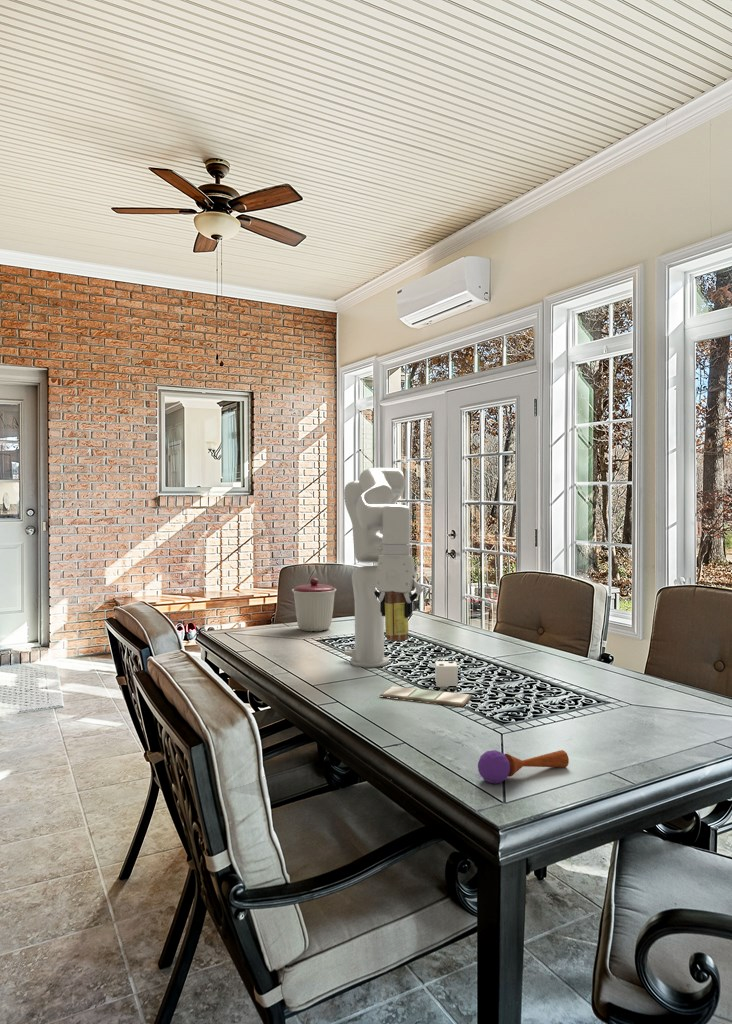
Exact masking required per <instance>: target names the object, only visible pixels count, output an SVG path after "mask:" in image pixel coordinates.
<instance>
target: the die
mask: <svg viewBox="0 0 732 1024" xmlns="http://www.w3.org/2000/svg"><path fill="white" fill-rule="evenodd" d="M434 664H435V666H434V668H435V669H434V671H435V673H434V674H435V675H434V676H435V677H434V681H435V682H436V683H435V687H436V686H443V687H442V688H445V687H444V686H447V687H446V688H449V687H448V686H456V687H455V688H458V687H459V685H458V684H459V681H458V680H459V678H458V677H459V676H458V674H459V669H458V668H459V667H458V663H457V661H456V660H455V661H451V660H450V661H449V660H448V661H447V660H445V661H443V660H438V661H437V660H436V661H434ZM457 686H458V687H457Z"/></svg>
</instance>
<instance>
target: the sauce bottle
mask: <svg viewBox="0 0 732 1024" xmlns="http://www.w3.org/2000/svg"><path fill="white" fill-rule="evenodd" d="M405 603H406V599H405V596H404V593H397V592H394V591H390V592H385V616H384V629H385V636H386V640H387V641H391V642H405V641H407V640H408V639H409V617H408V618H405Z"/></svg>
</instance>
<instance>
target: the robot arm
mask: <svg viewBox="0 0 732 1024" xmlns="http://www.w3.org/2000/svg"><path fill="white" fill-rule="evenodd" d="M405 488H406V478H405V475H404V473H403V471H402V470H400V469H399V468H397V467H373V468H372V467H370V468H367V469H364V470H363V471H362V472H361V473H360V474H359V477H358V480H353V481H350V482H348V483H347V484H346V485H345V487H344V490H343V495H344V496H343V498H344V504H345V508H346V510H347V513H348V516H349V519H350V521H351V527H352V538H353V539H352V541H353V542H352V543H353V549H354V550H353V551H354V557H355V559H356V560H357V562H359V563H362V564H363V563H364V564H377V565H364V566H363V565H362V566H360V567H359V566H358V567H357V568H356V569H354V570H353V572H352V574H351V586H352V589H353V598H354V648H349V647H345V648H344V651H343V653H344V655H345V656H351V658H350V659H349V661H350V664H351V665H352V666H355V667H361V668H379V667H384V666H386V665H387V666H388V664H390V659H389V658H388V657H387V656H385V592H390V591H394V592H397V593H404V596H405V599H406V603H405V618H408V619H409V618H411V617H412V615H413V602H414V601H415V600H416V599H417V598H418V597H419V596H420V595H421V594H422V593H423V592H424V591H425V589H424V588H423V585H421V584H420V583H419V582H418V581H417V579H416V571H415V563H414V559H413V555H412V554H411V528H410V527H411V519H410V518H411V517H410V516H411V515H410V513H411V512H410V511H411V510H410V507H409V506H407V505H403V504H399V503H397V502H398V500H399V499H400V498H401V496H402V495H403V493H404V491H405ZM380 531H381V532H382V533H380ZM413 591H415V592H413ZM412 592H413V593H412Z"/></svg>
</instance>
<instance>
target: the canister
mask: <svg viewBox="0 0 732 1024" xmlns="http://www.w3.org/2000/svg"><path fill="white" fill-rule="evenodd" d="M309 583H310V584H309ZM309 583H308V584H300V585H296V586H295V587H294V588H292V589H291V591H292V593H293V598H294V599H293V600H294V607H295V616H296V622H297V626H298V628H299V630H301V631H304V632H312V631H315V632H322V631H323V630H324V631H327V630H328V629H330V627H331V625H332V620H333V613H334V604H335V594H336V591H337V588H335V587H334V586H332V585H329V584H323V583H319V579H318V578H316V577H312V578H311V579H309Z"/></svg>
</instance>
